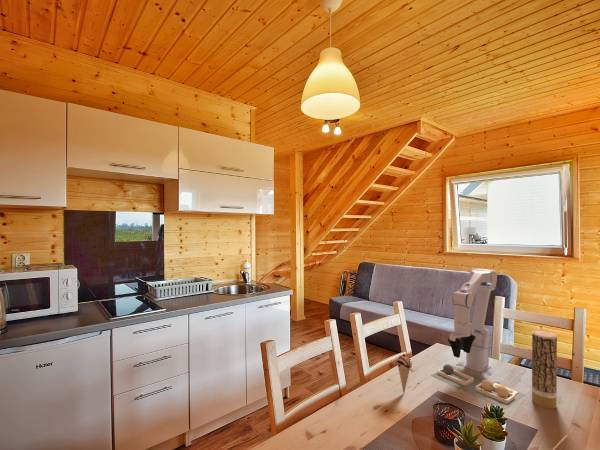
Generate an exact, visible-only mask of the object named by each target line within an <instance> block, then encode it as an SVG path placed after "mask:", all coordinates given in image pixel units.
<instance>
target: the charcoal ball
mask: <svg viewBox="0 0 600 450" xmlns="http://www.w3.org/2000/svg"><path fill="white" fill-rule="evenodd" d="M452 366H453V365H451V364H444V365H443V367H442V368H443V371H444V372H445V373H446V374H448V375H451V374H453V372H454V369H453V367H452Z"/></svg>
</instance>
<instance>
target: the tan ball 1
mask: <svg viewBox="0 0 600 450" xmlns="http://www.w3.org/2000/svg"><path fill="white" fill-rule="evenodd" d="M491 381H492V380H490V381H489V379H487V380H483V381H482V388H483V389H484V390H485V391H488V392H490V391H492V390H493V389H494V385H493V383H492V382H493V381H492V382H491Z"/></svg>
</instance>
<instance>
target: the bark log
mask: <svg viewBox="0 0 600 450" xmlns="http://www.w3.org/2000/svg"><path fill="white" fill-rule="evenodd" d="M531 332H532V334H531V335H532V336H531V338H532V339H531V344H532V345H531V347H532V348H531V358H532V359H531V400H532V403H533V404H535V405H536V406H538V407H541V408H544V409H548V410H554V409H556V408H557V393H558V391H557V388H558V387H557V381H558V379H557V376H558V375H557V372H558V371H557V370H558V369H557V364H558V361H557V359H558V354H557V353H558V348H557V347H558V337H557V336H558V335H557V334H555V333H553V332H550V331H546V330H538V329H537V330H536V329H535V330H532V331H531Z"/></svg>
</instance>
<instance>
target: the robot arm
mask: <svg viewBox="0 0 600 450" xmlns="http://www.w3.org/2000/svg"><path fill="white" fill-rule="evenodd" d="M469 278H470V279H469V280H468V282H464V283H463V284H462V286H461V287H460V288H459V290H457V291H454V292H452V295H451V299H450V301H451V304H452V309H453V328H452V329H451V330H450V331H451V332H452V333H451V334H449V337H447V342H448V343H449V346H450V347H451V351H452V354H453V357H454V358H457V359H459V358H460V357H461V351H462V350H463V352H464V353H465V355H466V357H465V359H466V361H465V363H463V364H461V366H463V367H465V368H468V369H471V370H473V371H476V372H478V373H482V372H483V371H486V370H487V369H490V368H491V365H490V363H489V361H490V360H489V359H490V358H489V353H490V352H489V348H490V344H491V343H490V342H491V340H490V339H491V337H490V336H491V333H490V331H489V330H488V329H487V328H486V327H485V322H486V318H487V317H486V316H487V312H488V311H487V310H488V306H489V300H490V296H491V291H494V290H495V289H496V286H497V282H498V273H497V270H495V269H486V268H476V267H472V268H471V269H470V271H469ZM476 294H477V295H476ZM475 296H476V300H475V305H474V310H473V314H472V320H471V319H470V317H471V314H470V313H471V312H470V311H471V310H470V309H471V307H472V305H473V302H474V297H475ZM470 321H471V322H470ZM460 339H461V340H460Z"/></svg>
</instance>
